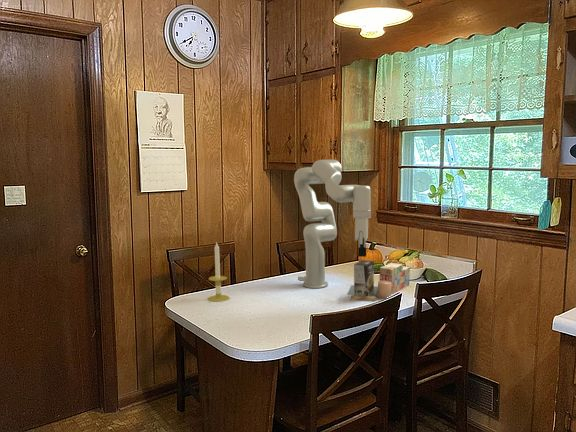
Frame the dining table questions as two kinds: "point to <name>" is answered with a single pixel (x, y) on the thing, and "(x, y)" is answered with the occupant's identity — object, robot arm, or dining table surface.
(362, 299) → the stop strip
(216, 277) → the candle
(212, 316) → the dining table surface
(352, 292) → the mat
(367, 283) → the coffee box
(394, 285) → the stack of blocks
